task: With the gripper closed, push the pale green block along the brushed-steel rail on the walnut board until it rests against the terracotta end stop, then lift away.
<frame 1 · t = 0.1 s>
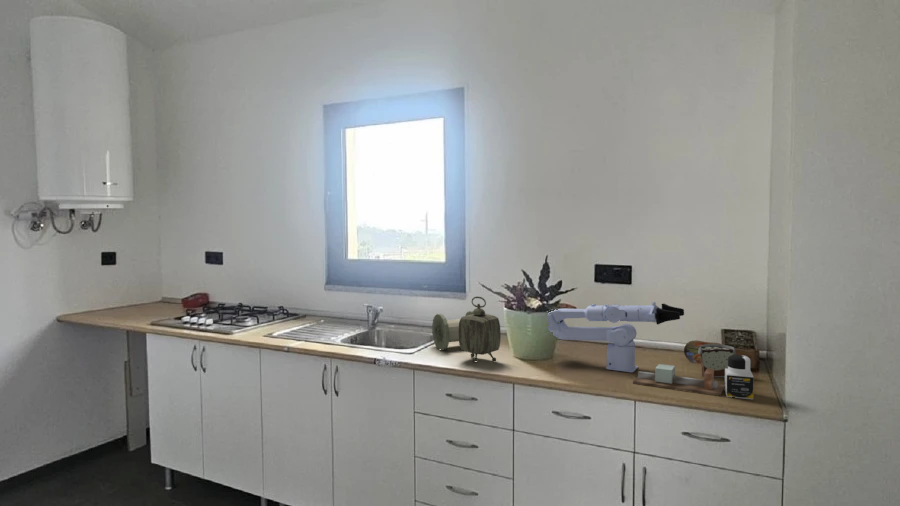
hand: (681, 313, 185), 22 cm above the worktop, tool horizontal, fingers open, 7 cm apart
pale green block: (665, 373, 179), point 3 cm above the worktop, slide at 0.0 cm
food container: (712, 375, 188), on the worktop
tabletop clock: (478, 361, 210), on the worktop
medicine bottle: (738, 395, 167), on the worktop
spool: (457, 348, 233), on the worktop
tin: (705, 364, 202), on the worktop
rail board: (678, 385, 177), on the worktop
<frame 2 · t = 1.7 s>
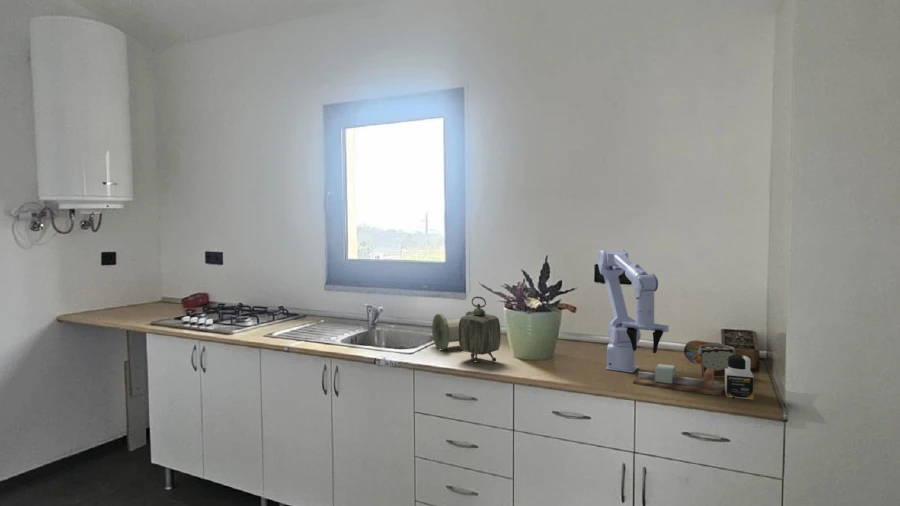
hand: (644, 351, 182), 10 cm above the worktop, tool pointing down, fingers open, 6 cm apart
nothing on the worktop moved.
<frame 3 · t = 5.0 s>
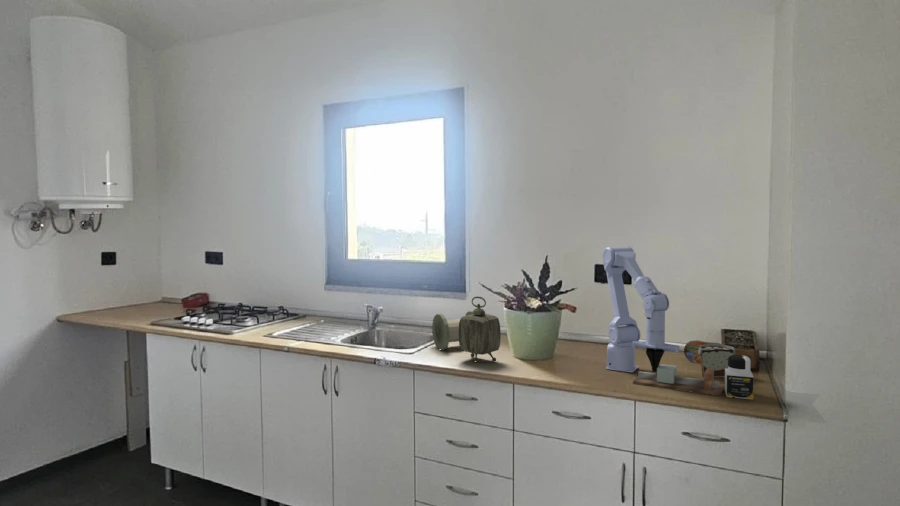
hand: (655, 371, 180), 4 cm above the worktop, tool pointing down, fingers closed
pale green block: (666, 373, 178), point 3 cm above the worktop, slide at 0.6 cm, touching gripper
everything else where it was.
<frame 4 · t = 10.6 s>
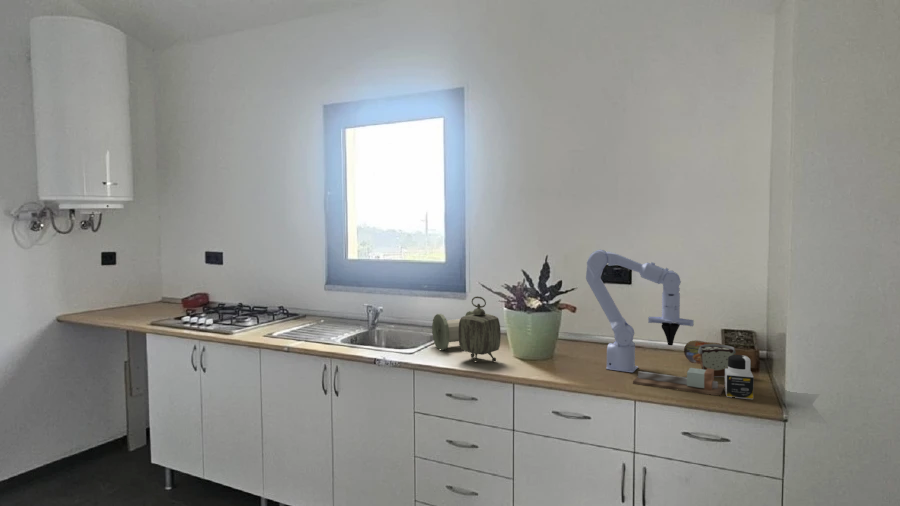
hand: (670, 344, 191), 10 cm above the worktop, tool pointing down, fingers closed
pale green block: (697, 377, 174), point 3 cm above the worktop, slide at 9.6 cm
everything else where it was.
at the end: pale green block slide at 9.6 cm; the gripper is holding nothing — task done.
